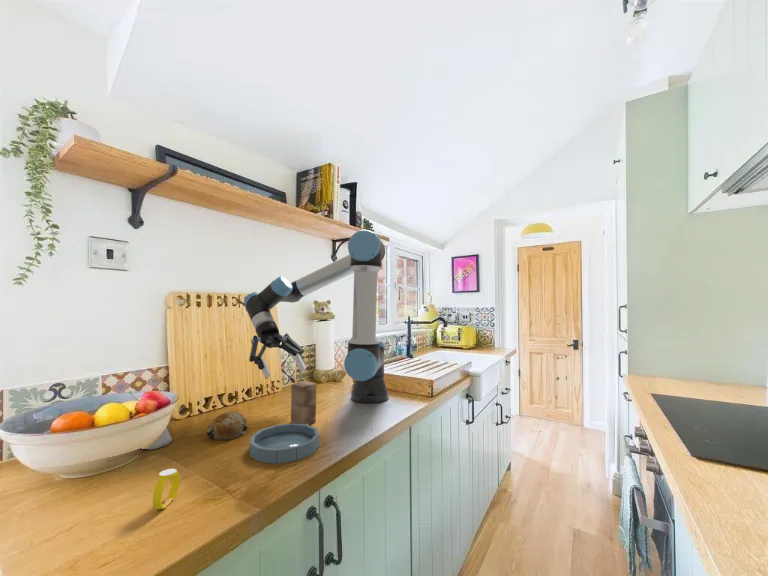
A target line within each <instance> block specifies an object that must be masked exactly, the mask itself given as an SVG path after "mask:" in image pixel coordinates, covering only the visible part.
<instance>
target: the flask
mask: <svg viewBox="0 0 768 576" xmlns="http://www.w3.org/2000/svg"><path fill="white" fill-rule="evenodd" d="M172 441H173V439H172V436H171V434H170V431H169V429H168V427H167V426H166V429H165V430H164V432H163V433H162V435H161V436H160V437H159V438H158V439H157V440H156V441H155V442H154V443H153V444H152V445H151V446H150V447H149V448H148V449H147V450H156V449H159V448H162V447H165V446H168V445H169V444H170V443H171V442H172Z"/></svg>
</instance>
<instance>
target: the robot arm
mask: <svg viewBox="0 0 768 576" xmlns="http://www.w3.org/2000/svg"><path fill="white" fill-rule="evenodd" d="M347 250H348V255H345V256H344V257H341V258H339V259H337V260H336V261H333V262H331V263H329V264H327V265H324V266H323V267H321V268H319V269H317V270H315V271H313V272H311V273H308V274H307V275H305V276H301V277H299V279H297V280H295V281H291V282H290V281H289V280H288V279H287V278H286V277H284V276H278V277H276V278H275V279H274V280H272V281H271V282H270V283H269V284H267V286H266V287H264V289H263V290H261V291H260V292H258V291H253V292H251V293H248V294H247V295H246V296H245V297H244V298H243V299H244V300H243V304H244V309H245V310H246V312H247V315H248V317H249V319H250V322H251V324H252V326H253V328H254V330H255V333H256V335H253V337H252V338H251V340H250V342H251V347H250V348H251V350H250V355H249V362H251V363H252V362H254V365H257V368H258V369H259V370H260V371H261V372H262V374H263V377H264V379H265V380H267V379H268V378H269V377H270V376H271V374H272V373H271V370H270V369H269V366H268V364H267V361H266V359H265V357H263V355H264V353H265V351H266V349H267V348H268V349H272V348H279V349H282V350H283V351H285V352H287V353H289V354H290V355H292V356H293V357H294V362H295V363H296V365H297V367H298V370H299V372H300V373H301V374H302V373H304V371H305V370H306V369H307V367H306V365H305V363H304V361H305V360H304V358H303V353H304V352H305V349H303V347H301V346H300V344H298V343H297V342H296V341H295V340H294V339H292V338H291V336H290V335H289V334H288V333H285V334H284V335H281V334H280V331H279V328H278V325H277V324H276V323H277V322H276V321H275V319H274V317H273V315H272V313H271V310H272V309H273V308H274V307H276V306H277V305H278V304H279V303H281V302H283V303H297V302H299V301H301V299H302V298H303V297H305V296H308V295H309V294H312V293H314V292H316V291H318V290H320V289H322V288H324V287H326V286H328V285H331V284H332V283H335V282H337V281H339V280H341V279H343V278H346V277H348V276H349V275H351V274H353V299H352V300H353V303H352V332H351V333H352V335H351V337H350V338H349V340H348V341H347V354H346V356H345V358H344V362H343V367H344V371H345V372H346V374H347V376H349V378H350V379H353V380H354V383H353V386H352V390H351V391H350V399H351V400H352V401H354V402H357V403H364V404H376V403H381V402H386V401H387V400H388V399H389V391H388V388H387V384H386V380H385V349H386V348H385V343H384V341H382V340H378V338H377V337H376V334H377V332H376V331H377V299H378V297H377V296H378V295H377V291H378V273H379V271H381V269H382V264H383V263H382V261H383V260H384V258H385V255H386V247H385V245H384V242H382V240H381V238H380V237H379V235H377V234H376V233H375V232H373V231H371V230H367V229H361V230H358V231H356V232H354V233H353V234H352V235H351V236H350V238H349V239H348V242H347ZM259 343H260V344H262V347H261V349H260V351H259V353H258V354H257V349H258V345H259Z"/></svg>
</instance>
